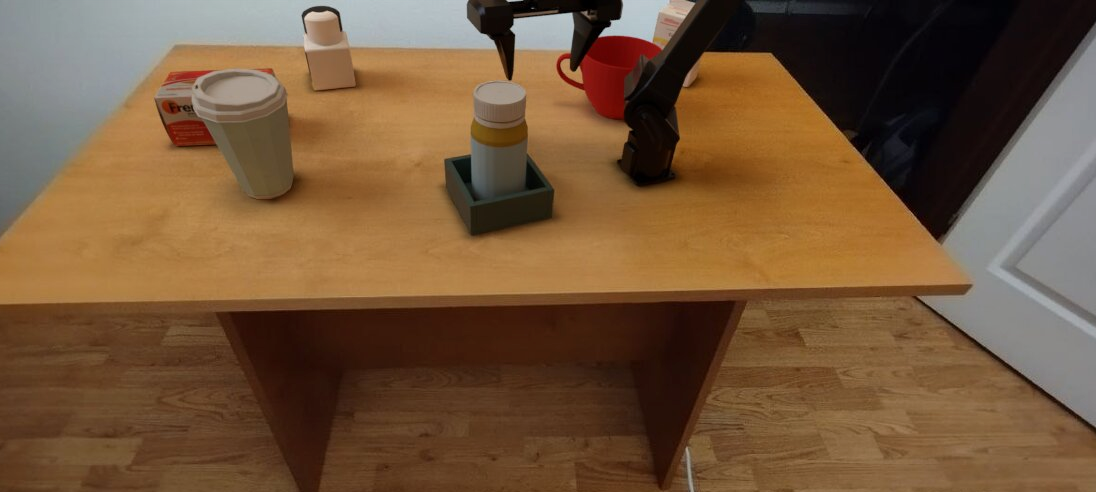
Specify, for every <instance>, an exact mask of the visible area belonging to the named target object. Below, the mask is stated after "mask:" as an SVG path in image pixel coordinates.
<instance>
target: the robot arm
mask: <svg viewBox="0 0 1096 492" xmlns="http://www.w3.org/2000/svg"><path fill="white" fill-rule="evenodd" d="M743 2H744V0H696V1H695V2H694V3H695V4H694V6H693V7H692V9H691V10H690V12H689V13H688V14H687V16H686V17H685V19H684V20H683V22H682V23H681V24H680V26H679V27H678V29H677V30H676V32H675V33H674V34H673V36H672V37H671V39H670V40H669V42H668V43H667V44H666V46H665V47H664V49H663V50H662V51H661V52H660V53H659V54H657V55H656V56H654V57H653V58H652V59H650V60H648V59H647V58H646V57H645V56H644V55H640V57H639V59H638V61H637V63H636V65H635V67H634V69H633V70H632V71H631V73H630V74H628V75H627V76H625V77H624V105H623V116H624V119H623V120H624V123H625V124H626V126H627V127H628V128H629V129H631V130H628V134H627V139H626V141H625V142H624V144H623V149H622V154H621V158H619V159H617V160H616V165H617V166H618V167H619V168H620V170H621V171H623V172H624V174H625V175H626V176H627V177H628V178H629V179H630V180H631V181H632V182H633V183H634V184H635V185H636V186H638V187H641V186H647V185H651V184H655V183H661V182H665V181H666V182H667V181H670V180H674V179H676V178H677V174H676V172H675V171H673V170H672V165H673V160H674V156H675V152H676V148H677V144H678V143H679V142H680V140H681V136H680V129H679V128H680V127H679V120H678V119H679V118H678V112H677V107H676V106H675V105H676V104H677V101H678V99H679V96H680V94H681V91H682V88H683V87H684V86H683V83H684V81H685V78H686V76H687V74H688V73H689V72H690V70H691V69H692V68H693V66H694V65H695V64H696V62H697V61H698V60H699V58H700V57H701V56H702V57H703V54H705V52H706V51H707V49H708V48H709V46H710V45H711V44H712V43H713V41H714V40H715V39H716V37H717V36H718V35H719V34H720V33H721V31H722V30H723V29H724V27H725V25H727V23H728V22H729V21H730V19H731V18H732V16H733V15H734V14H735V13H736V11H737V10H738V8H739V7H740V6H741V5H742V3H743ZM623 9H624V2H623V0H515V1H512V0H511V1H508V0H468V1H467V3H466V19H467V20H468V21H469V22H470V24H472V26H473V27H474V28H475V29H476V31H478V33H480V34H482V35H486V36H487V37H488V38H489V40H491V41H493V43H494V44H495V47H496V51H497V53H498V56H499V59H500V63H501V65H502V68H503V69H502V70H503V72H504V76H505V78H506V79H507V81H509V82H512V81H513V77H514V71H515V53H516V51H515V49H516V33H515V32H514V31H512V30H511V29H512V27H514V26H515V23H514V22H515V20H516V19H526V18H535V17H546V16H554V15H564V14H572V20H573V32H572V38H571V47H570V52H569V53H570V59H569V70H570V72H572V73H576V72H577V70H578V68H580V66H579V65H580V64H581V62H582V60H583V59H584V57H585V56H586V54H587V52H588V51H589V49H590V48H591V46H592V45H593V43H594V42H595V41H596V40H597V38H598V37H601V34H602V33H603V32H604V30H605V29H607V28H611V27H612V22H613V21H620V20H621V19H622V15H623Z"/></svg>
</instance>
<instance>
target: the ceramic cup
mask: <svg viewBox="0 0 1096 492" xmlns="http://www.w3.org/2000/svg"><path fill="white" fill-rule="evenodd" d="M661 51H662V49H661V48H660V47H658V46H657V45H655V44H653V43H652V41H649V40H646V39H642V38H640V37H634V36H629V35H604V36H603V35H602V36H599V37H598V38H597V40H596V41H595V42H594V43H593V45H592V46H591V48H590V49H589V51H588V52H587V54H586V56H585V57H584V59H583V60H582V62H581V64H580V65H579V69H580V72H581V78H582V83H581V82H579V81H576V80H574V79H572V78H570V77H568V76H567V75H566V74H565V73H564V71H563V70H562V66H561V65H562V62H563V61H564V60H570V53H571V52H567V53H566V52H565V53H563V54H561V55H560V56H559V57H558V59H557V60H556V66H555V67H556V71H557V74H558V75H559V77H560V78H561V79H562V81H563V82H565V83H566V84H568V85H570V86H572V87H574V88H576V89H579V90H580V91H584V92H585V95H586V98H587V99H588V101H589V102H590V104H591V105H592V106H593V108H594V110H595V111H596V112H597V113H598V114H599V115H601V116H603V117H605V118H608V119H615V120H622V119H623V120H624V116H623V105H624V77H625V76H627V75H628V74H630V73H631V71H632V70H633V69H634V67H635V65H636V63H637V61H638V59H639V57H640V55H644V56H645V57H646V58H647V59H648V60H650V59H652V58H653V57H654V56H656V55H657V54H659V53H660V52H661Z"/></svg>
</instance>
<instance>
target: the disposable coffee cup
mask: <svg viewBox="0 0 1096 492" xmlns="http://www.w3.org/2000/svg"><path fill="white" fill-rule="evenodd" d="M253 69H254V68H237V67H235V68H228V69H218V70H219V71H213V72H211V73H208V74H206V75H203V76H201V77H199V78H197V80H196V81H195V83H194V85H193V86H192V91H193V93H194V94H193V96H192V104H193V109H194V111H195V112H196V114H197V115H198V117H201V118H202V119H203V121H204V123H205V125H206V126H207V128H208V130H209V132H210V133H211V135H212V137H213V139H214V140H215V142H216V144H215V145H216V146H217V147H218V149H219V151H220V153H221V155H222V156H223V158H224V160H225V162H226V163H227V165H228V167H229V169H230V171H231V172H232V174H233V176H234V178H235V179H236V181H237V183H238V185H239V186H240V188H241V189H242V191H243V193H244V194H245V193H246V195H247V196H248V197H250V198H254V199H256V200H271V199H275V198H278V197H281V196H283V195H284V194H286V193H287V192H288V191H290V190H291V188H292V185H293V182H294V178H295V174H294V163H293V162H294V161H293V153H292V152H293V151H292V143H291V141H292V140H291V130H290V121H289V120H290V119H289V110H288V95H289V94H288V92H287V89H286V87H285V85H283V83H282V81H280V80H279V78H277V76H275V77H273V75H271V74H267V73H264V72H261V71H258V70H253Z"/></svg>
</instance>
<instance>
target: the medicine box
mask: <svg viewBox="0 0 1096 492" xmlns="http://www.w3.org/2000/svg"><path fill="white" fill-rule="evenodd" d="M252 69H253V70H258V71H261V72H264V73H267V74H271V75H273V77H276V74H275V71H274V68H269V67H267V68H252ZM219 70H220V69H211V70H210V69H209V70H189V71H188V70H183V71H170V72H168V75H167V77H166V78H165V80H164V81H163V83H162V84H161V86H160V87H159V88H158V90H157V92H156V93H155V94H154V96H153V99H154V102H155V106H156V110H157V113H158V116H159V118H160V121H161V123H162V125H163V128H164V130H165V132H166V134H167V136H168V138H169V140H170V141H171V144H172V146H175V147H181V146H183V147H185V146H207V145H217V144H216V142H215V140H214V139H213V137H212V135H211V133H210V132H209V130H208V128H207V126H206V125H205V123H204V121H203V119H202V118H201V117H198V115H197V114H196V112H195V111H194V109H193V104H192V96H193V94H194V93H193V91H192V86H193V85H194V83H195V81H196V80H197V78H199V77H201V76H203V75H206V74H208V73H211V72H213V71H219Z"/></svg>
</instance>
